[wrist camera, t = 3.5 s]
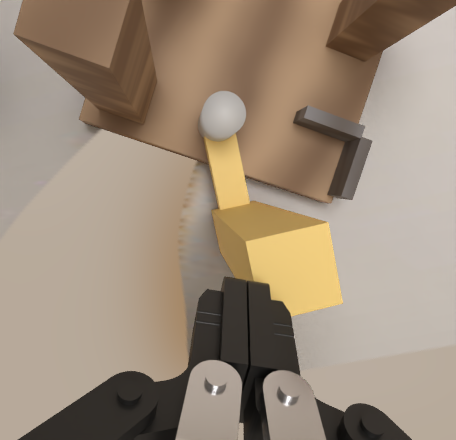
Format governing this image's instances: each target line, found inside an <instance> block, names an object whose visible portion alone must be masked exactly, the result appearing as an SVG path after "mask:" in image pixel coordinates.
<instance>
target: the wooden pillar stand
mask: <svg viewBox="0 0 456 440" xmlns="http://www.w3.org/2000/svg"><path fill="white" fill-rule="evenodd" d="M454 6H456V0H23V2H22V5H21V9H20V12H19V16H18V19H17V23H16V26H15V30H14V35H15V36H16V37H17V38H18V39H20V40H21V41H22V42H23V43H24V44H25V45H26V46H27V47H29V48H30V49H31V50H32V51H33V52H34V53H35V54H37V55H38V56H39V57H40V58H41V59H42V60H43V61H44V62H46V63H47V64H48V65H49V66H50V67H51V68H52V69H53V70H55V71H56V72H57V73H58V74H59V75H60V76H61V77H63V78H64V79H65V80H66V81H67V82H68V83H69V84H70V85H72V86H73V87H74V88H75V89H76V90H77V91H78V92H80V93H81V94H82V95H83V96H84V97H85V100H84V104H83V107H82V110H81V114H80V117H79V120H81V121H83V122H84V123H86V124H89V125H92V126H95V127H98V128H101V129H104V130H107V131H110V132H113V133H116V134H119V135H122V136H125V137H128V138H131V139H135V140H137V141H140V142H143V143H146V144H149V145H152V146H155V147H158V148H161V149H165V150H167V151H170V152H173V153H176V154H179V155H182V156H185V157H188V158H191V159H194V160H197V161H200V162H203V163H206V164H209V162H208V157H207V152H206V148H205V143H204V138H203V137H202V136H201V134H200V132H199V130H198V120H199V117H200V114H201V112H202V109H203V106H204V104H205V102H206V100H207V99H208V98H209V97H210V96H211V95H212V94H214V93H216V92H219V91H229V92H232V93H234V94H236V95H237V96H238V97H239V98H240V99H241V100H242V101H243V103H244V105H245V109H246V119H245V122H244V124H243V126H242V127H241V129H240V130H239V131H237V132H236V137H237V142H238V147H239V152H240V157H241V162H242V166H243V171H244V176H245V177H248V178H251V179H254V180H257V181H260V182H263V183H266V184H269V185H272V186H275V187H278V188H281V189H284V190H287V191H290V192H293V193H296V194H299V195H302V196H305V197H308V198H311V199H314V200H317V201H320V202H325V203H332V200H333V197H336V198H341V199H349V200H352V199H353V196H354V194H355V191H356V188H357V185H358V182H359V179H360V176H361V173H362V170H363V167H364V164H365V161H366V158H367V155H368V153H369V150H370V147H371V144H372V141H371V140H369V139H366V138H363V137H362V134H363V131H364V128H365V126H363V125H360V124H358V123H359V120H360V117H361V114H362V111H363V108H364V105H365V102H366V100H367V97H368V94H369V91H370V88H371V85H372V82H373V79H374V76H375V73H376V70H377V67H378V64H379V61H380V58H381V55H382V52H383V50H385V49H386V48H388V47H390V46H391V45H393V44H394V43H396V42H398V41H399V40H401V39H403V38H404V37H406V36H407V35H409V34H411V33H412V32H414V31H415V30H417V29H419V28H420V27H422V26H424V25H425V24H427V23H428V22H430V21H432V20H433V19H435V18H437V17H438V16H440V15H441V14H443V13H445V12H446V11H448V10H449V9H451V8H453V7H454Z"/></svg>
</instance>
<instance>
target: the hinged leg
mask: <svg viewBox="0 0 456 440" xmlns="http://www.w3.org/2000/svg"><path fill="white" fill-rule="evenodd" d="M245 119H246V109H245V105H244V103H243V101H242V100H241V99H240V98H239V97H238V96H237V95H236V94H234V93H232V92H229V91H219V92H216V93H214V94H212V95H211V96H210V97H209V98H208V99H207V100H206V102H205V104H204V106H203V109H202V112H201V114H200V117H199V120H198V130H199V132H200V134H201V136H202V137H203V138H204V143H205V148H206V152H207V157H208V162H209V167H210V171H211V176H212V181H213V185H214V190H215V195H216V199H217V204H218V209H214V210H211V211H212V216H213V221H214V225H215V230H216V235H217V239H218V244H219V248H220V253H221V254H222V256H223V258H224V259H225V261H226V263H227V264H228V266H229V268H230V270H231V271H232V273H233V275H234V276H235V278H237V279H244V280H246V282H247V280H249V281H255V282H261V283H268V284H269V285H270V294H271V300H277V301H283V303H284V304H285V306H286V307H287V309H288V310H289V312H290V314H291V316H295V315H299V314H303V313H307V312H311V311H315V310H319V309H323V308H327V307H331V306H335V305H339V304H343V301H342V296H341V290H340V285H339V279H338V274H337V268H336V262H335V257H334V251H333V246H332V240H331V235H330V229H329V223H328V222H325V221H322V220H318V219H315V218H311V217H308V216H305V215H301V214H298V213H294V212H291V211H287V210H284V209H280V208H277V207H274V206H270V205H267V204H263V203H260V202H256V201H249V196H248V191H247V186H246V181H245V176H244V171H243V166H242V162H241V157H240V152H239V147H238V142H237V137H236V132H237V131H239V130H240V129H241V127H242V126H243V124H244V122H245Z"/></svg>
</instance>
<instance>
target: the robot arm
mask: <svg viewBox="0 0 456 440" xmlns="http://www.w3.org/2000/svg"><path fill="white" fill-rule="evenodd" d="M239 422H240V423H244V440H412V439H411V438H410V437H409V436H407V434H406V433H404V432H403V431H402V430H401V429H400V428H399V427H398V426H397V425H396V424H395V423H394V422H393V421H392V420H391V419H390V418H389V417H388V416H386V415H385V414H384V413H383V412H382V411H380V410H379V409H377V408H375V407H373V406H370V405H367V404H361V403H358V404H353V405H351V406H349V407H348V408H347V409H346V411H345V412H343V411H340V410H338V409H336V408H334V407H332V406H329V405H327V404H325V403H323V402H321V401H320V400H318V399H316V398H315V397H314V393H313V390H312V388H311V386H310V385H309V384H308V382H307V381H306V380H305V379H303V378H302V377H301V376H300V370H299V364H298V357H297V351H296V345H295V339H294V332H293V328H292V320H291V314H290V312H289V310H288V309H287V307H286V306H285V304H284V303H283V301H277V300H271V294H270V285H269V284H268V283H261V282H255V281H249V280H247V282H246V280H244V279H237V278H231V277H224V279H223V283H222V288H221V291H215V290H209V289H207V290H206V291H205V292H204V293H203V294H202V296H201V297H200V298H199V302H198V307H197V312H196V317H195V323H194V328H193V333H192V341H191V348H190V355H189V362H188V368H187V369H186V370H185V371H184V373H182V374H181V375H179V376H178V377H176V378H173V379H170V380H166V381H160V382H154V381H153V380H152V379H151V378H150V377H149V376H147V375H145V374H143V373H140V372H136V371H127V372H122V373H119V374H116V375H114V376H113V377H111V378H109V379H108V380H107V381H105V382H104V383H102V384H101V385H99V386H98V387H96V388H95V389H93V390H92V391H90V392H89V393H87V394H86V395H84V396H83V397H81V398H80V399H78V400H77V401H75V402H74V403H72V404H71V405H69V406H68V407H66V408H65V409H63V410H62V411H60V412H59V413H57V414H56V415H54V416H53V417H51V418H50V419H48V420H47V421H45V422H44V423H42V424H41V425H39V426H38V427H36V428H35V429H33V430H32V431H30V432H29V433H27V434H26V435H24V436H23V437H21V438H20V439H18V440H238V429H239Z"/></svg>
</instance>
